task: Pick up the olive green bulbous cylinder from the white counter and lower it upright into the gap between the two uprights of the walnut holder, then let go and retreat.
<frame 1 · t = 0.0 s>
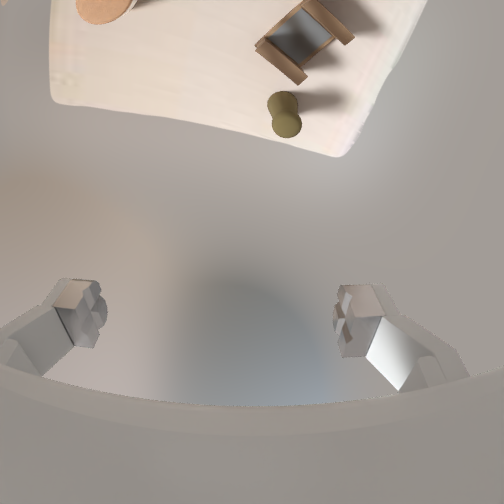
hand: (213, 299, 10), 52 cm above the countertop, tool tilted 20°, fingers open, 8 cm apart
holder: (299, 35, 42), on the countertop
olive green bulbous cylinder: (282, 104, 54), on the countertop
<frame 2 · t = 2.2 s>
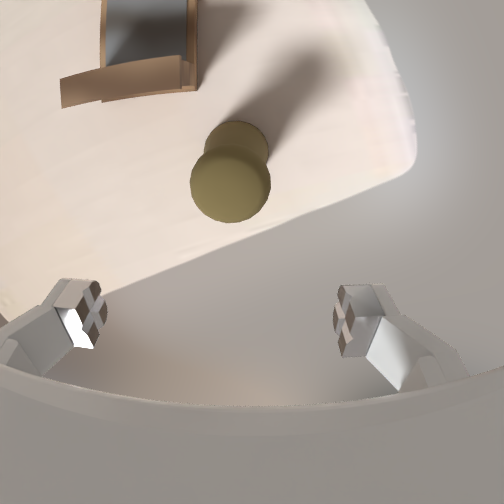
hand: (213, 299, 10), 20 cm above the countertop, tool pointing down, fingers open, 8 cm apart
holder: (148, 26, 20), on the countertop
olive green bulbous cylinder: (236, 151, 27), on the countertop
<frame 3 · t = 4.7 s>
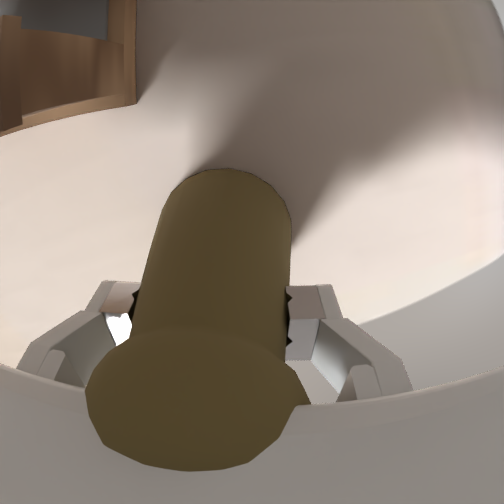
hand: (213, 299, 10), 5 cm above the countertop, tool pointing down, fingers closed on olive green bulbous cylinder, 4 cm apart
olive green bulbous cylinder: (225, 231, 14), on the countertop, touching gripper
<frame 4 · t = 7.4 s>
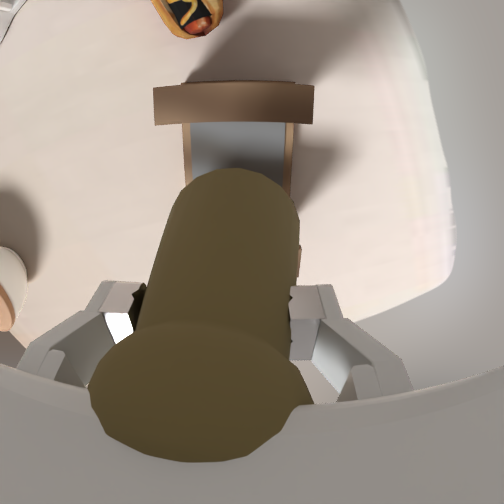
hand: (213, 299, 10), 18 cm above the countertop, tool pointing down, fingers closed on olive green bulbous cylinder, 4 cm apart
holder: (238, 159, 25), on the countertop
lidded jar: (12, 264, 31), on the countertop
olive green bulbous cylinder: (233, 229, 14), point 13 cm above the countertop, touching gripper
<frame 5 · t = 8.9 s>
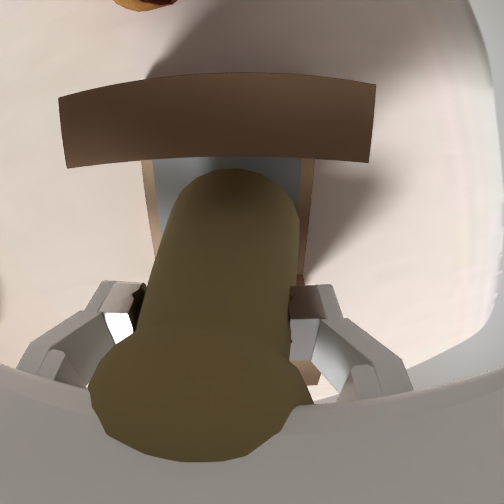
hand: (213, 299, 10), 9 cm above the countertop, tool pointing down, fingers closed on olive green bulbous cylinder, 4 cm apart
holder: (228, 197, 17), on the countertop
olive green bulbous cylinder: (233, 230, 14), point 4 cm above the countertop, touching gripper
when the fingers open (7 cm above the countertop, at t = 10.1 s): olive green bulbous cylinder stays where it is, resting on holder.
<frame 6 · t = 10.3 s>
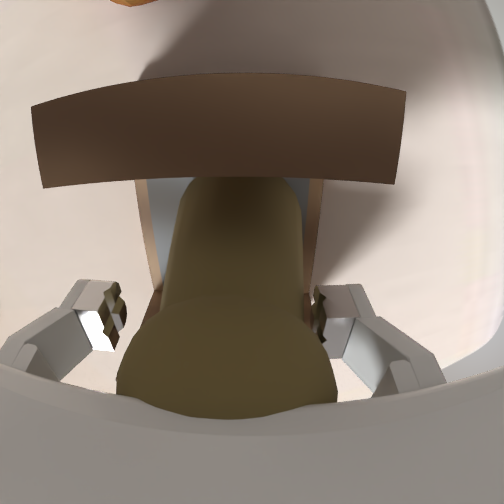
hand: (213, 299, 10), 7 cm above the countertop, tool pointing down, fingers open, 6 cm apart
holder: (229, 211, 16), on the countertop
olive green bulbous cylinder: (239, 220, 15), point 1 cm above the countertop, touching holder
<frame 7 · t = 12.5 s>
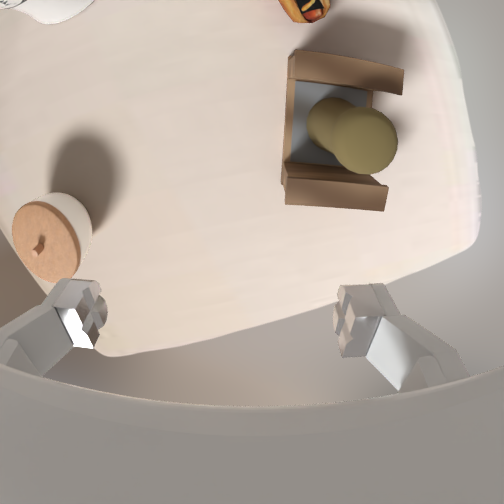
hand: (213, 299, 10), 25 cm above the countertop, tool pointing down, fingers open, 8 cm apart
holder: (326, 123, 29), on the countertop
lidded jar: (72, 217, 35), on the countertop
olive green bulbous cylinder: (334, 125, 28), point 1 cm above the countertop, touching holder
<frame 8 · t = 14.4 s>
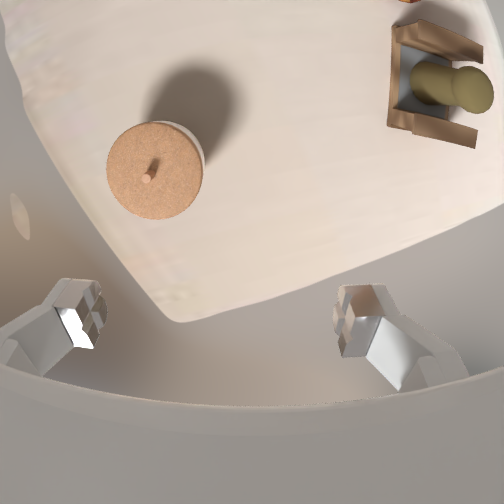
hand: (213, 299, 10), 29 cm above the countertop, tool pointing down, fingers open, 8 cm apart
holder: (419, 82, 29), on the countertop
lidded jar: (170, 155, 36), on the countertop
olive green bulbous cylinder: (427, 83, 28), point 1 cm above the countertop, touching holder
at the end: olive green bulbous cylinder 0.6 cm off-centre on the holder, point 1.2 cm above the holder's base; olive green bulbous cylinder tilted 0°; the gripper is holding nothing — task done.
